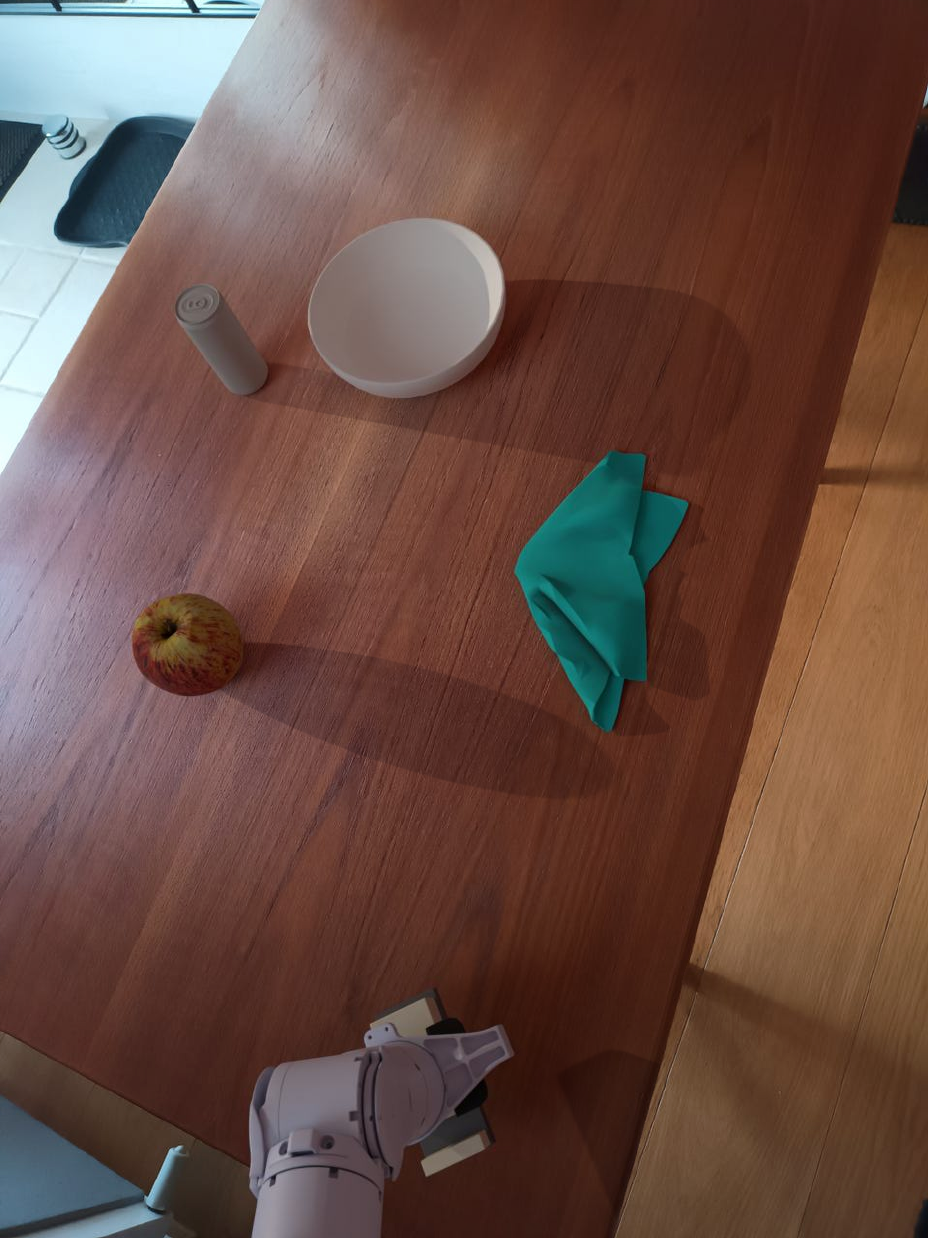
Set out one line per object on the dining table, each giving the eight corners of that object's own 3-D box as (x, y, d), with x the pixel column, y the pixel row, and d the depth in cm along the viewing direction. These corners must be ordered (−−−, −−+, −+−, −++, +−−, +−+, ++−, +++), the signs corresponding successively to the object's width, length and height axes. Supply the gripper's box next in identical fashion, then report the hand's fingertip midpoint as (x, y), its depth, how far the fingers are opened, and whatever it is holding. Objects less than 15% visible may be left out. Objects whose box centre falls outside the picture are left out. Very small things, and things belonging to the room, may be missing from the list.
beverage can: (267, 396, 98) (217, 321, 87) (223, 400, 99) (169, 327, 88) (272, 356, 100) (223, 278, 89) (228, 361, 101) (175, 284, 90)
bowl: (530, 393, 92) (521, 355, 86) (337, 441, 94) (316, 406, 89) (497, 239, 99) (487, 195, 94) (319, 287, 102) (299, 246, 96)
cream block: (496, 1141, 67) (487, 1151, 63) (435, 1171, 67) (421, 1182, 63) (436, 987, 71) (424, 987, 68) (378, 1015, 71) (363, 1017, 68)
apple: (151, 689, 89) (92, 655, 79) (197, 604, 91) (145, 561, 82) (232, 724, 86) (180, 693, 77) (277, 635, 88) (232, 594, 79)
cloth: (558, 439, 90) (555, 426, 88) (704, 465, 86) (705, 452, 84) (474, 697, 82) (469, 690, 80) (630, 739, 78) (630, 732, 76)
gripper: (465, 977, 57) (500, 978, 69) (247, 1082, 57) (321, 1064, 69) (514, 1099, 54) (542, 1077, 66) (285, 1209, 54) (355, 1166, 67)
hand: (431, 1077), depth 68 cm, fingers closed on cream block, 4 cm apart
